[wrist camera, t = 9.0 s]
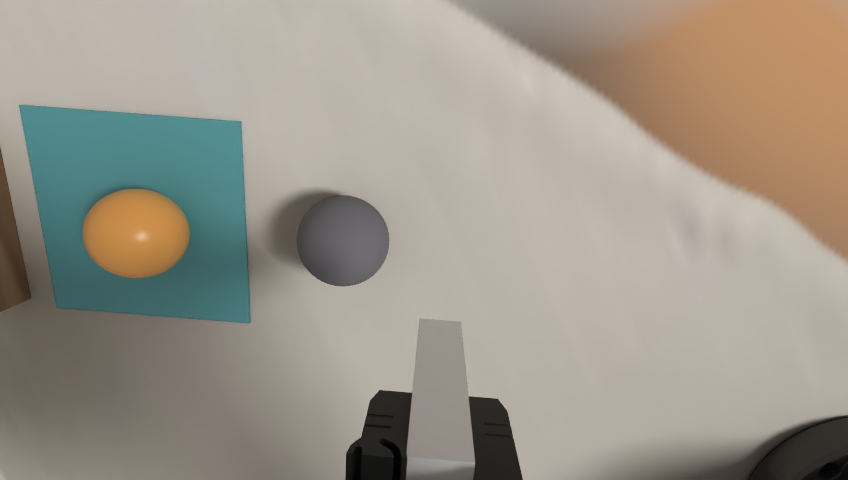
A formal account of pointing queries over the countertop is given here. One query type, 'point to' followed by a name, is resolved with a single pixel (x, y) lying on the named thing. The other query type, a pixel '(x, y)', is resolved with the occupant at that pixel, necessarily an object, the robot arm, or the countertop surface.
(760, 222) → the countertop surface
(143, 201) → the object ball
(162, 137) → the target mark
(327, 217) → the gray ball
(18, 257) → the wall
